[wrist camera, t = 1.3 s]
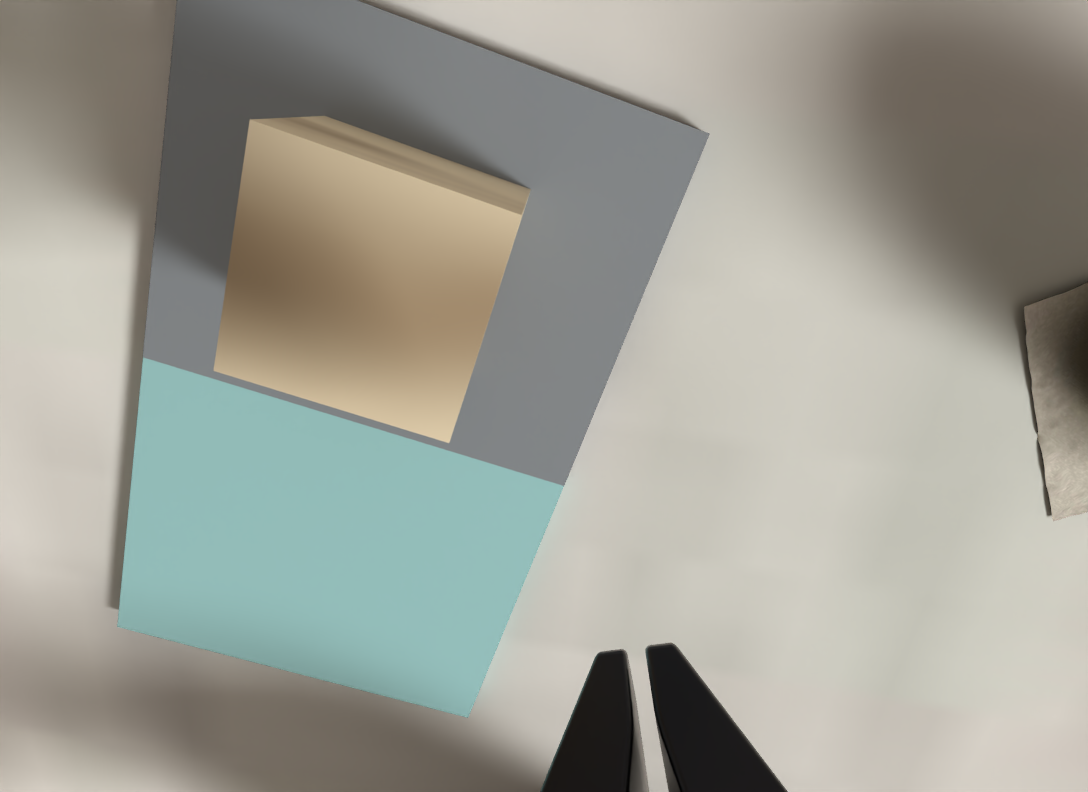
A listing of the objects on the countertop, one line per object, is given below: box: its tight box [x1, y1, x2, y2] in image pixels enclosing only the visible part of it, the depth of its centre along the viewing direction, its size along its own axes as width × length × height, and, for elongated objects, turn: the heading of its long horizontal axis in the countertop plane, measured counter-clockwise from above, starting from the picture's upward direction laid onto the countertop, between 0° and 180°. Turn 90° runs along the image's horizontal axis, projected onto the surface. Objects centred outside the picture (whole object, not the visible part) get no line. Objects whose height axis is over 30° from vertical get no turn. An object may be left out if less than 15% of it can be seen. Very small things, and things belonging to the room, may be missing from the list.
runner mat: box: [117, 0, 709, 718], centre depth 19 cm, size 20×12×1 cm, turn 161°
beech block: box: [214, 116, 531, 443], centre depth 15 cm, size 5×5×4 cm
